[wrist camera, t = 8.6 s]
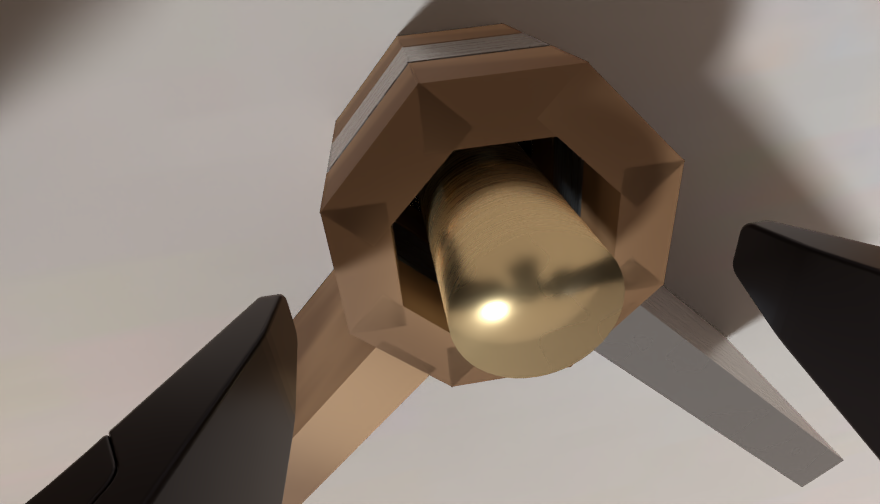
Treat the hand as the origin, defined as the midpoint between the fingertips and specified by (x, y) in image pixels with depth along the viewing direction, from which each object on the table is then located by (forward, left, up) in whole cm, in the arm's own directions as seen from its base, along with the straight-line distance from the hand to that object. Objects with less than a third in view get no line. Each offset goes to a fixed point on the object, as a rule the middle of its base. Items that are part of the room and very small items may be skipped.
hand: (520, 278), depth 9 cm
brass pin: (0, 0, -7) cm, 7 cm away
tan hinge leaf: (0, -5, -7) cm, 9 cm away
